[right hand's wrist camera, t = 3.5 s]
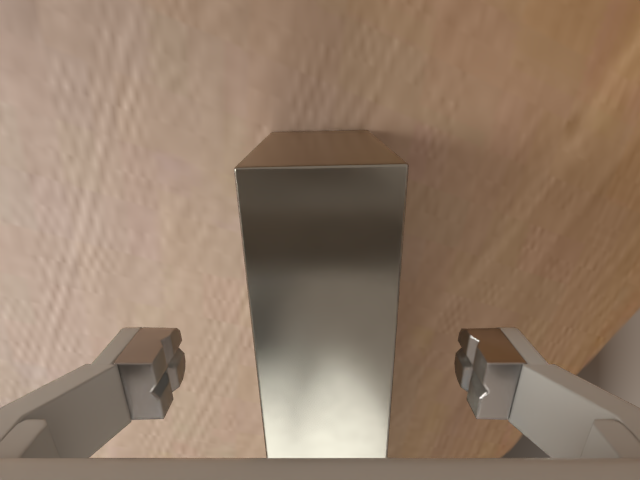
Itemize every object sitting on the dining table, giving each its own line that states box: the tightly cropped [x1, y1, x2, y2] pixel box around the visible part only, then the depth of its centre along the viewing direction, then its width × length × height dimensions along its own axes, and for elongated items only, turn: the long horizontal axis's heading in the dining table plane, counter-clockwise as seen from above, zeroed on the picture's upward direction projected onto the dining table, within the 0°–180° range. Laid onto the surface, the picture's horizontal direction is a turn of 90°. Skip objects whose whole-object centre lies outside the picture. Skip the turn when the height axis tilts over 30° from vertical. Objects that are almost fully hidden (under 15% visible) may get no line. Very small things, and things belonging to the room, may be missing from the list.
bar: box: [234, 130, 409, 458], centre depth 19 cm, size 25×5×9 cm, turn 1°
